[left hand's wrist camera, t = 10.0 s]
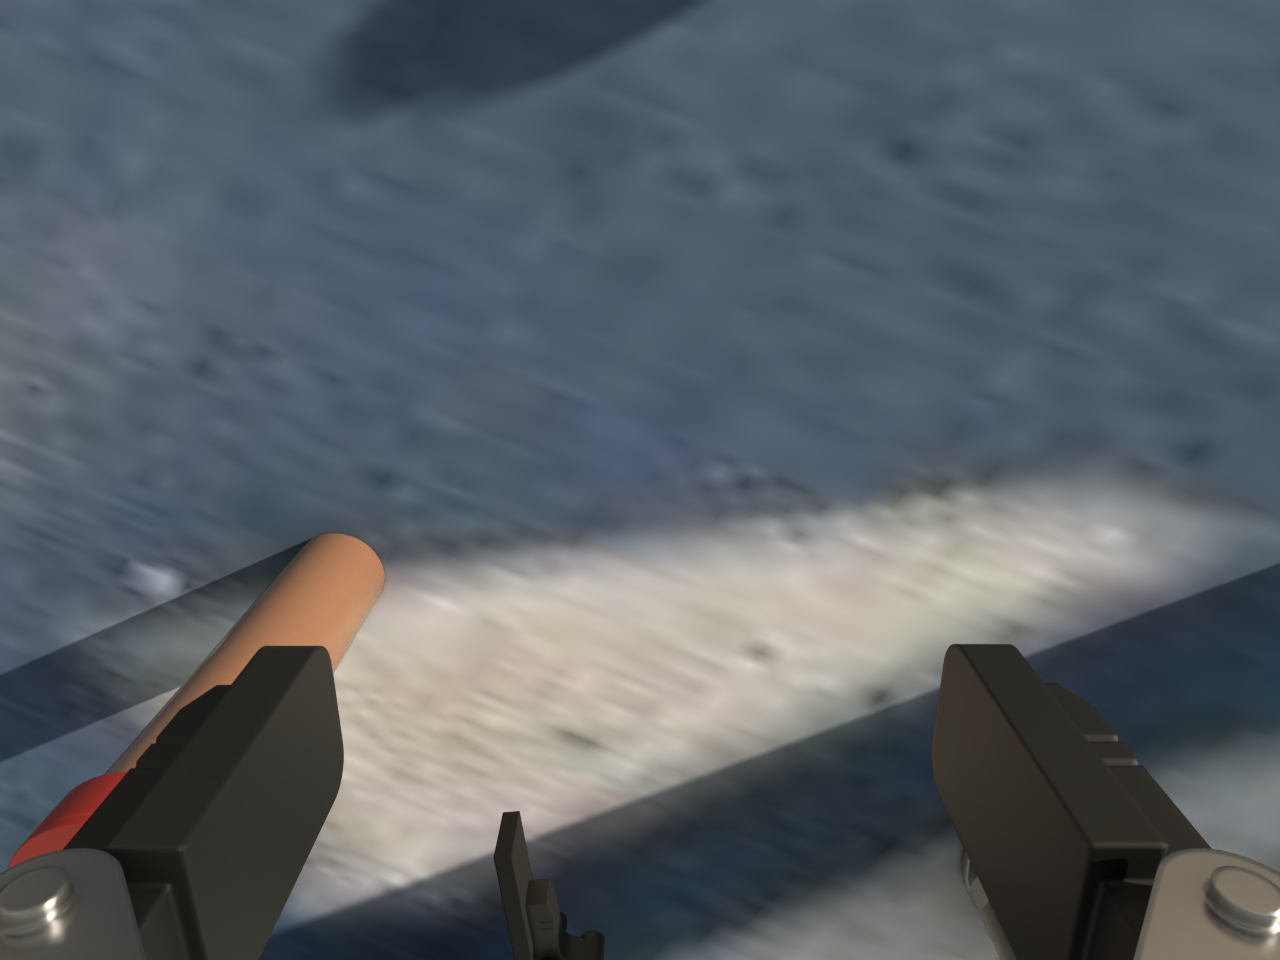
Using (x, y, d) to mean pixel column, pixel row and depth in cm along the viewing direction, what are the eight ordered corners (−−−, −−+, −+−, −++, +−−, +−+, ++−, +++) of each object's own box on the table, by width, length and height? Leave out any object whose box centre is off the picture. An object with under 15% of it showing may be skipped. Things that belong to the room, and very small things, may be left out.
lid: (104, 924, 26) (60, 986, 24) (22, 791, 24) (-32, 846, 22) (261, 892, 25) (230, 952, 23) (189, 754, 24) (149, 807, 22)
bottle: (314, 621, 42) (77, 959, 24) (280, 544, 40) (2, 842, 23) (397, 602, 41) (218, 931, 24) (366, 523, 40) (151, 810, 22)
